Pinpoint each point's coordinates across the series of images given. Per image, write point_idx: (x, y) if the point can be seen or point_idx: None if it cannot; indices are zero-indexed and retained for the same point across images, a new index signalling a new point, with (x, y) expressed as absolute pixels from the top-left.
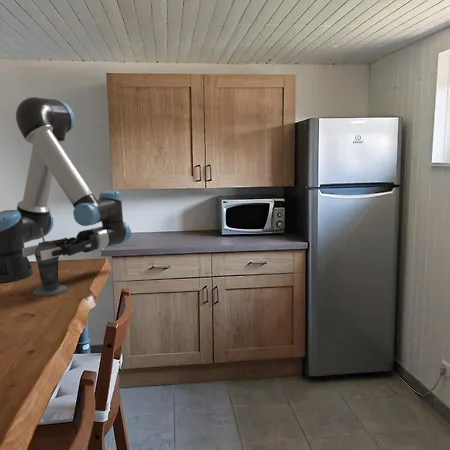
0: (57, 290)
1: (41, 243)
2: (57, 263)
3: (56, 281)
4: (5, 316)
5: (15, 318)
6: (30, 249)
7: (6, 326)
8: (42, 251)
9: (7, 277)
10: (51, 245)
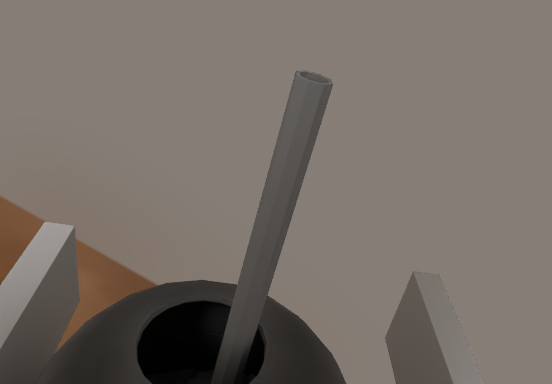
0: None
1: (218, 289)
2: None
3: None
4: (101, 256)
5: None
6: (426, 360)
7: (15, 210)
8: (42, 231)
9: None
10: (55, 378)
